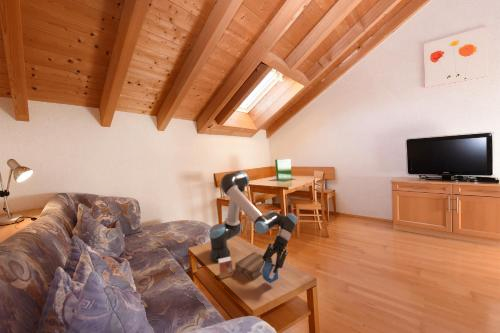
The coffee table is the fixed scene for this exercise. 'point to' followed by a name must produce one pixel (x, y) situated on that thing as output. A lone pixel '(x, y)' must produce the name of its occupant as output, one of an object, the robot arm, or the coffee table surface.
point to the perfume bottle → (269, 271)
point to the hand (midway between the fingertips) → (265, 275)
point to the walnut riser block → (250, 266)
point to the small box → (225, 267)
